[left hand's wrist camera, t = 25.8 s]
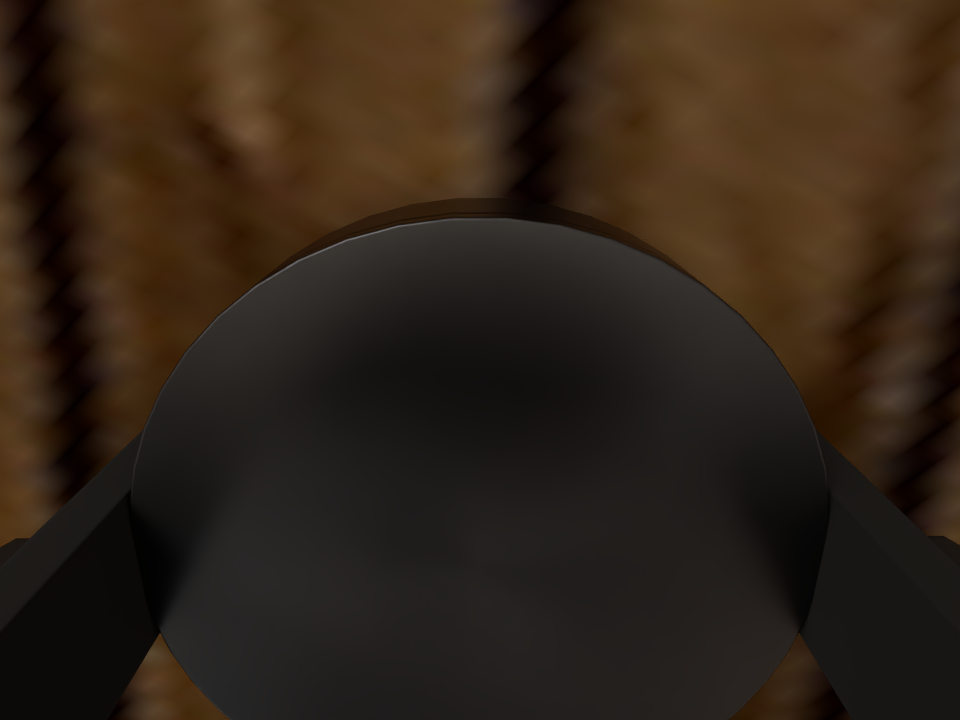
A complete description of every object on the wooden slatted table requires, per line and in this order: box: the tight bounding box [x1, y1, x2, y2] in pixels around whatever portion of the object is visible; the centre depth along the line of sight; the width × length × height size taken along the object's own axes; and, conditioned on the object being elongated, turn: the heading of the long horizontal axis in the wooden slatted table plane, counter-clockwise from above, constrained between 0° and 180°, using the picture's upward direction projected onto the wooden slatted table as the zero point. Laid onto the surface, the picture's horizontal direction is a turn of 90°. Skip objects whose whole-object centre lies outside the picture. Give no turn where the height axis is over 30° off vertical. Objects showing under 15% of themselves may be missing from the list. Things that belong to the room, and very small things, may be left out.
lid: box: [130, 198, 830, 720], centre depth 11 cm, size 11×11×2 cm
